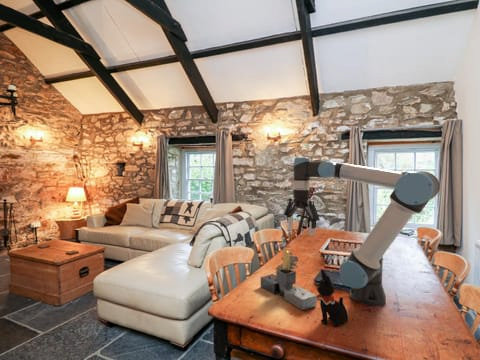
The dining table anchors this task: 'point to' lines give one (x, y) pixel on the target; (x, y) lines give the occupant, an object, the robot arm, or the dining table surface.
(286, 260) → the pin
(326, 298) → the figurine
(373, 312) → the dining table surface
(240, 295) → the dining table surface
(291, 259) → the vertebra
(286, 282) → the hinge base
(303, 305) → the grey flat block
